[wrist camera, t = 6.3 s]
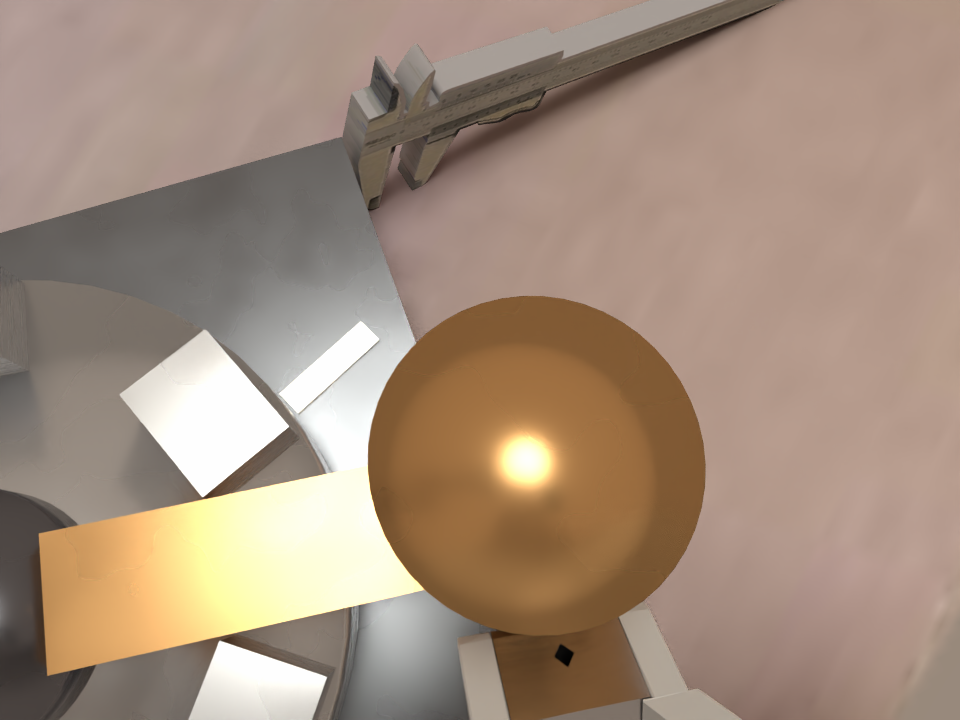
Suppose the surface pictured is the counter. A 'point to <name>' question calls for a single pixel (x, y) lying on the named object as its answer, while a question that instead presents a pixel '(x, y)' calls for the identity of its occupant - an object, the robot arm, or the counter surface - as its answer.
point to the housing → (280, 346)
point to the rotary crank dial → (312, 501)
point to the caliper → (502, 83)
